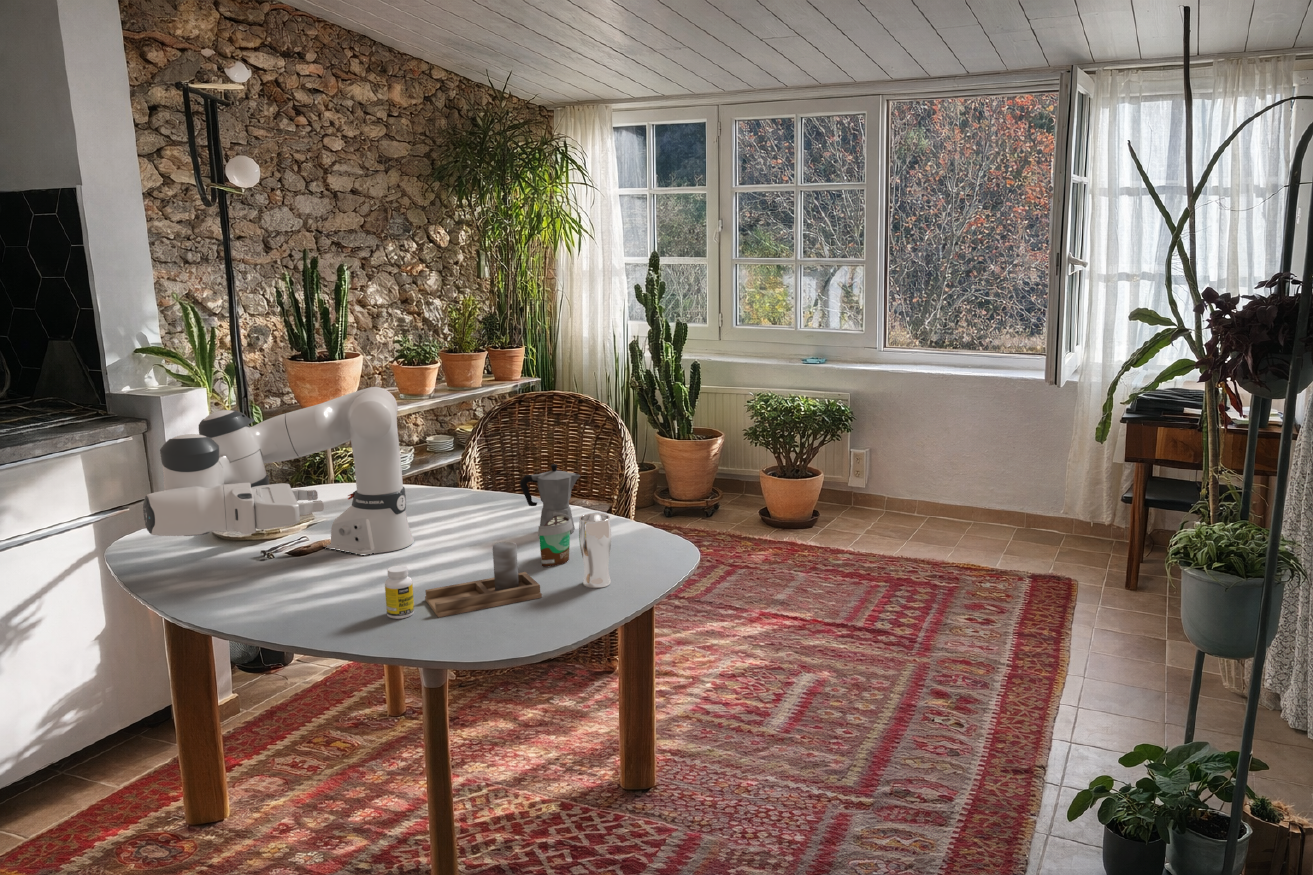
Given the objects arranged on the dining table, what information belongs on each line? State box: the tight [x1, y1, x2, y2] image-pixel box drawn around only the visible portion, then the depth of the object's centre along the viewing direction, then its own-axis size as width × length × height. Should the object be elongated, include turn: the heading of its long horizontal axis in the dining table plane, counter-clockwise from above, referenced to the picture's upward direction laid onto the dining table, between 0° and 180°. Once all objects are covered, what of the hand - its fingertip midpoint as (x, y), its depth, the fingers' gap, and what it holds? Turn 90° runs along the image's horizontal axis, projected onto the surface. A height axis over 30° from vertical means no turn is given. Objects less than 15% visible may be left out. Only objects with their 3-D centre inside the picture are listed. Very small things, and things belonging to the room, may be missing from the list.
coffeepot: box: [519, 463, 581, 535], centre depth 245 cm, size 15×9×18 cm, turn 103°
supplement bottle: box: [384, 565, 415, 620], centre depth 194 cm, size 5×5×10 cm
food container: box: [537, 513, 573, 568], centre depth 224 cm, size 12×6×10 cm, turn 168°
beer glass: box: [578, 512, 612, 589], centre depth 208 cm, size 7×7×15 cm
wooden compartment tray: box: [424, 541, 543, 618], centre depth 201 cm, size 22×11×11 cm, turn 117°
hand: (320, 499), depth 184 cm, fingers open, 8 cm apart
